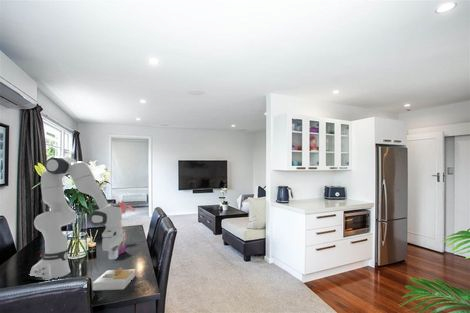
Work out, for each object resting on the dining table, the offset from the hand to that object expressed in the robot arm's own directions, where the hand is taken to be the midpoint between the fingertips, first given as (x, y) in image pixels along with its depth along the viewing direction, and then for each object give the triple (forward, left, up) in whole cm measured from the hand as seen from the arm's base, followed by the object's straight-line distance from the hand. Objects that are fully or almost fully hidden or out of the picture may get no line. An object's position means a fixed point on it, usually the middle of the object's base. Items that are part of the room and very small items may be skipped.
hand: (113, 253), depth 157 cm
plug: (0, 0, -3) cm, 3 cm away
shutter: (+12, -15, -7) cm, 21 cm away
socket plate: (+8, -15, -11) cm, 20 cm away
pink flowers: (-25, +68, -12) cm, 74 cm away
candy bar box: (-12, +35, -12) cm, 39 cm away
